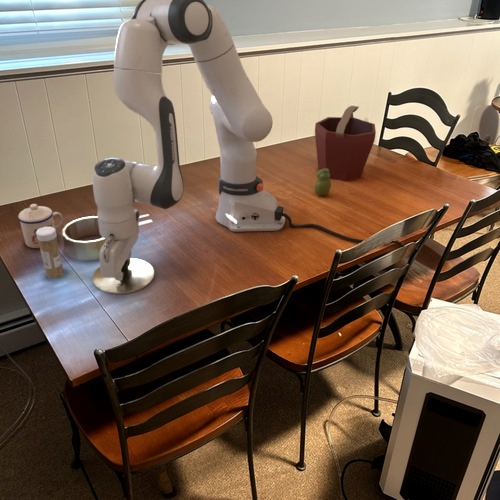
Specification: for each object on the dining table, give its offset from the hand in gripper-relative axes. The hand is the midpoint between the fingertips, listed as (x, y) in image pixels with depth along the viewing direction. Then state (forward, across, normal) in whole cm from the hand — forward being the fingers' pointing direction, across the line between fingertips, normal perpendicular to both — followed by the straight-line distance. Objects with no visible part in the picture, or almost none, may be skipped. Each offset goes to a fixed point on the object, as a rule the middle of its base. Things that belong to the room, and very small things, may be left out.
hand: (123, 271), depth 126 cm
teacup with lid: (+2, +16, +28) cm, 32 cm away
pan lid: (+1, 0, 0) cm, 1 cm away
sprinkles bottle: (+2, -1, +18) cm, 18 cm away
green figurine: (+2, +58, -54) cm, 79 cm away
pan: (+2, +13, +13) cm, 18 cm away
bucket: (+2, +80, -63) cm, 102 cm away
